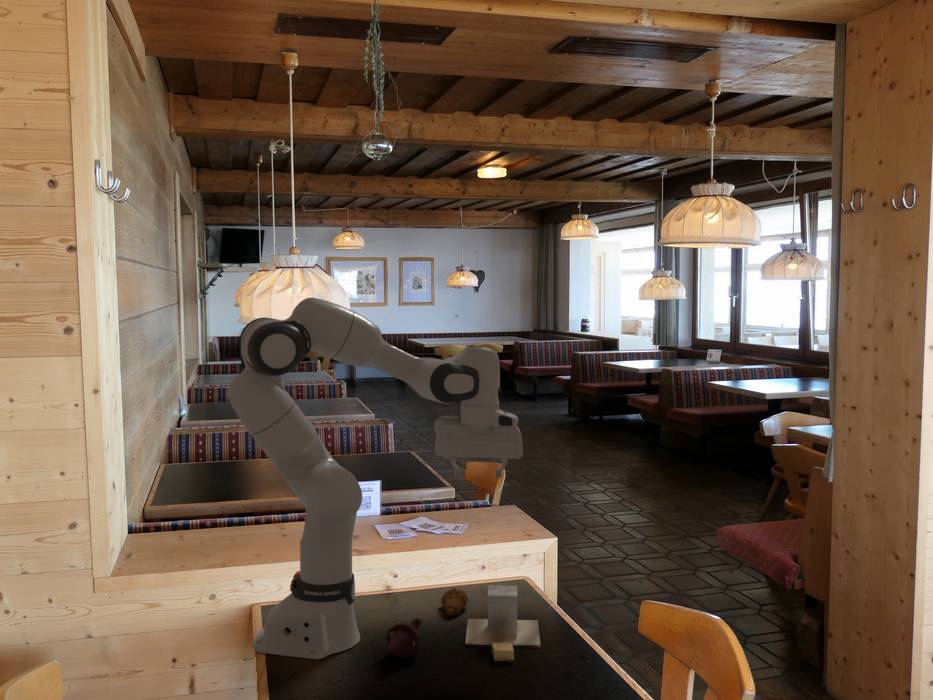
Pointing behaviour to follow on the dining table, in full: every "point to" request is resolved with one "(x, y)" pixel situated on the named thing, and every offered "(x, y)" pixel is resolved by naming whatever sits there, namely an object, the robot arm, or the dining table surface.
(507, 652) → the block
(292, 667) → the dining table surface
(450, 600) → the croissant
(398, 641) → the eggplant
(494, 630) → the cover
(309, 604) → the robot arm
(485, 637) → the board
